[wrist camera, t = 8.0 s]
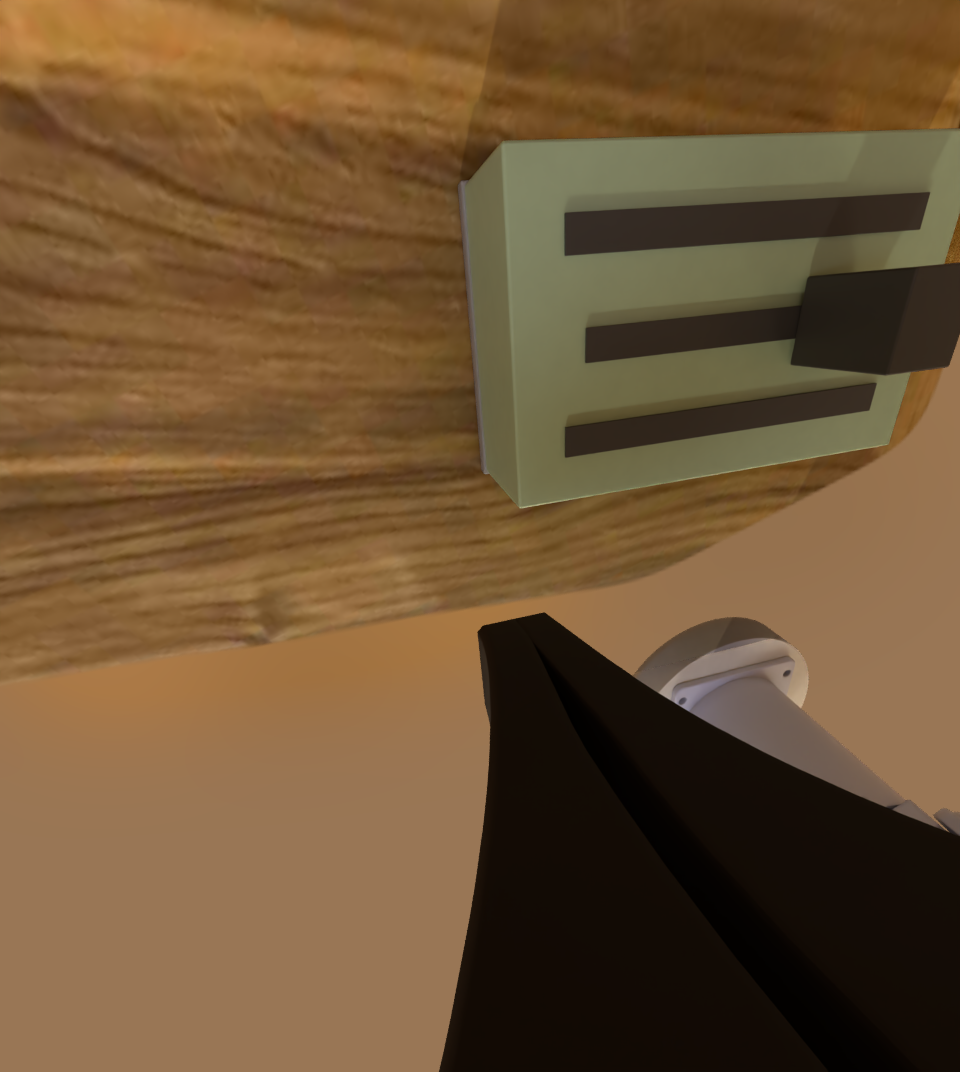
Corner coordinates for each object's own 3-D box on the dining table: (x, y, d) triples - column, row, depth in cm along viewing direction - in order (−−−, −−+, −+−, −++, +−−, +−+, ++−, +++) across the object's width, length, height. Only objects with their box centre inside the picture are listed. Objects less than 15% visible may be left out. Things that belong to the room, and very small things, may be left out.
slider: (843, 358, 15) (950, 367, 12) (789, 365, 14) (885, 376, 12) (864, 271, 14) (986, 260, 11) (806, 276, 13) (918, 266, 11)
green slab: (789, 423, 21) (894, 448, 17) (481, 470, 18) (517, 514, 14) (842, 167, 17) (996, 119, 13) (457, 184, 14) (497, 131, 10)
